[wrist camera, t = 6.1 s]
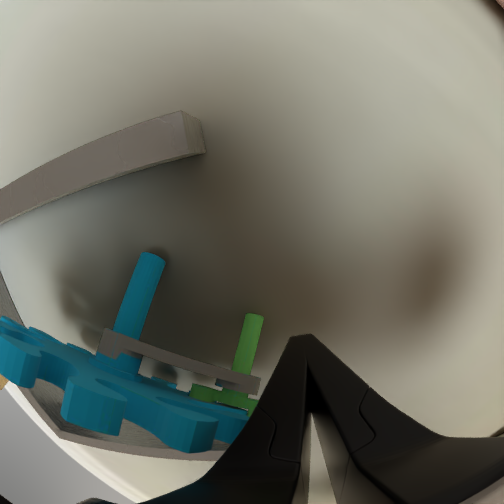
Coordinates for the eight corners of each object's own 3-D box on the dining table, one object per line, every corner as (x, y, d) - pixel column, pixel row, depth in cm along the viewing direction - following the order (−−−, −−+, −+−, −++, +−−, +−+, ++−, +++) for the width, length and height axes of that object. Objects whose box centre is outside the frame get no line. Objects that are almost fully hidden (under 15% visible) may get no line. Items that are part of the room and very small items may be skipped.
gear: (33, 350, 11) (-86, 339, 2) (69, 251, 13) (10, 129, 5) (222, 419, 14) (338, 488, 5) (248, 322, 16) (378, 283, 8)
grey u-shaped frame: (271, 423, 14) (272, 497, 9) (28, 404, 16) (3, 441, 11) (199, 120, 9) (145, 94, 4) (-55, 237, 11) (-99, 262, 6)
